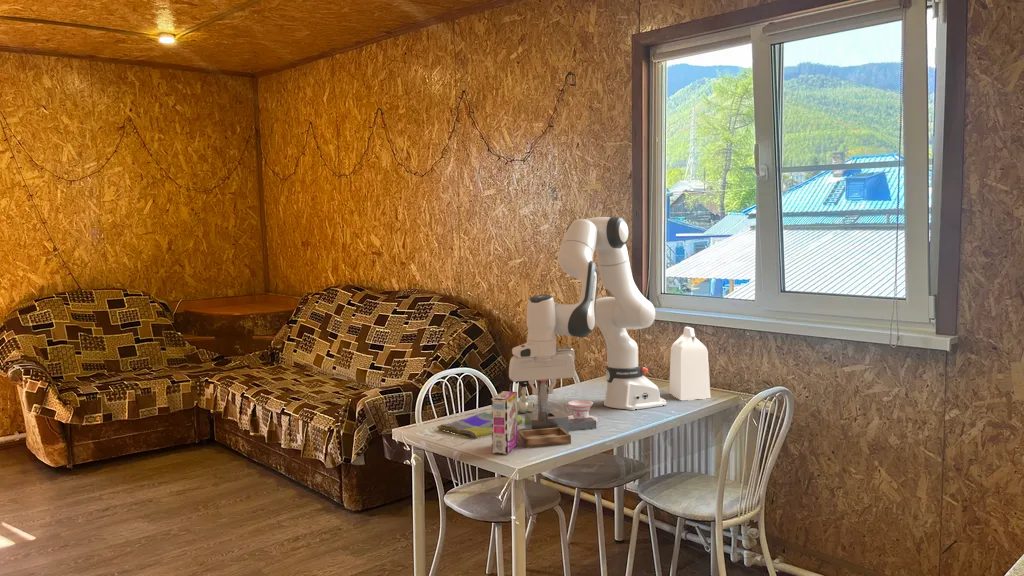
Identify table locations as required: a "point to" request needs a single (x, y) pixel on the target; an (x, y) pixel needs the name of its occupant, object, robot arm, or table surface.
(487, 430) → the dish towel
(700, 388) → the milk
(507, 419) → the candy bar box
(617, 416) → the table surface
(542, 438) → the tray
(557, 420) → the hitch block
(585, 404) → the teacup
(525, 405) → the valve
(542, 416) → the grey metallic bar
